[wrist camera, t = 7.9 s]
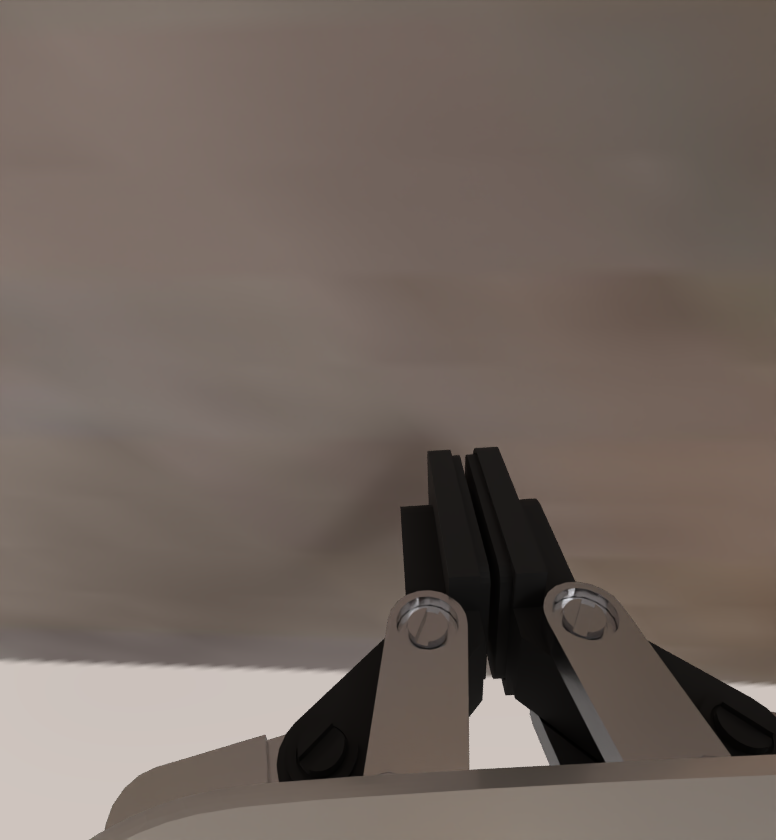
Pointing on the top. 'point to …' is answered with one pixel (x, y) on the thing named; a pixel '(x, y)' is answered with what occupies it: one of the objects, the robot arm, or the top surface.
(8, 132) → the top surface
